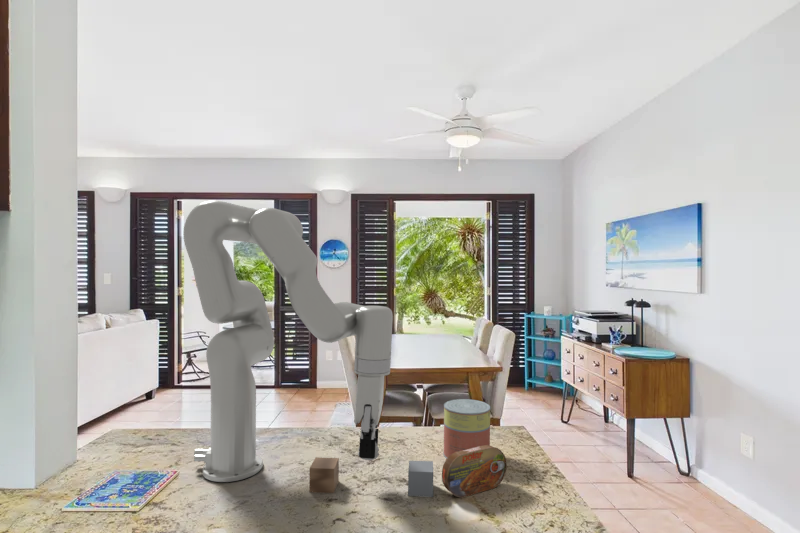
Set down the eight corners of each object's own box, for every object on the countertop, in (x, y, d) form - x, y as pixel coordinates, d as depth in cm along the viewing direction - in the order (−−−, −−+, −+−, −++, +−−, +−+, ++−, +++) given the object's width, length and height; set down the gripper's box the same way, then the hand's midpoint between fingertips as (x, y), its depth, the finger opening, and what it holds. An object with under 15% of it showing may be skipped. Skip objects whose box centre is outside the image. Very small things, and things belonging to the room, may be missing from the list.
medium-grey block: (408, 496, 89) (408, 471, 89) (408, 484, 94) (409, 460, 94) (433, 497, 89) (433, 472, 89) (432, 484, 94) (432, 461, 94)
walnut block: (309, 492, 91) (309, 467, 91) (315, 480, 96) (315, 457, 96) (333, 493, 90) (334, 468, 90) (338, 481, 95) (338, 458, 95)
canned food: (500, 457, 108) (500, 407, 108) (465, 469, 101) (465, 416, 101) (467, 442, 117) (468, 396, 117) (434, 452, 111) (434, 403, 111)
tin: (447, 502, 87) (448, 459, 87) (439, 494, 90) (439, 452, 90) (507, 485, 94) (508, 445, 94) (497, 478, 97) (498, 440, 97)
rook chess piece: (376, 462, 91) (377, 422, 91) (354, 459, 92) (356, 420, 92) (381, 453, 95) (383, 415, 95) (361, 450, 96) (362, 413, 96)
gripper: (360, 355, 102) (356, 435, 102) (347, 374, 85) (343, 469, 85) (393, 357, 102) (389, 437, 102) (386, 376, 85) (382, 472, 85)
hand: (368, 451), depth 94 cm, fingers closed on rook chess piece, 4 cm apart
